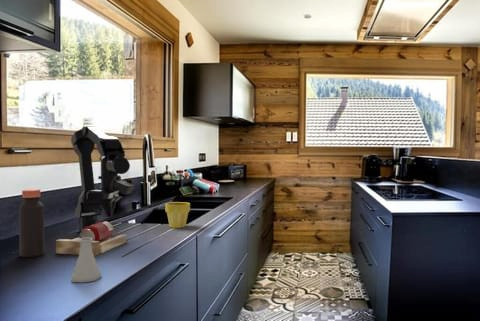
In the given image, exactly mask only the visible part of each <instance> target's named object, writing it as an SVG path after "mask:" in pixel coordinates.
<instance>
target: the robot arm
mask: <svg viewBox="0 0 480 321" xmlns="http://www.w3.org/2000/svg"><path fill="white" fill-rule="evenodd" d="M70 143H71V145H72V150H73V151H74V153H75V154H76V155H77V156H78V162H79V173H80V183H81V194H80V195H79V197H78V203H77V205H76V207H75V210H74V215H75V217H77V218H78V228H79V229H78V230H76V233H79V234H80V233H81V232H82V230H83V229H84V228H86V227H88V226H91V225H94V224H97V223H99V218H98V216H101V215H102V210H104V212H105V214H106V216H107V217H108V218H111V217H113V214H114V209H115V208H116V206H117V202H118V201H119V200H120V199H122V198H123V196H121V195H119V194H123V195H129V194H130V195H131V194H132V192H133V190H134V189H135V188H136V187H135V180H133V179H130V178H129V179H127V180H122V177H121V175H124V174H126V173H127V172H128V171H129V170H130V167H131V164H130V161H129V160H128V159H127V158H126V154H125V153H126V151H125V149H124V147H123V145H122V142H121V141H120V139H119V138H118V137H116V136H110V135H107V134H106V133H104V132H103V131H101V130H100V129H99V127H98V126H96V125H84V126H82V127H81V129H78V130H76V131H74V133H73V134H72V137H71V138H70ZM95 144H96V146H95ZM95 147H96V150H97V152H98V153H99V155H100V157H99V161H100V175H98V176H97V177H98V178H97V179H98V180H100V187H98V189H96V188H95V178H94V171H93V170H94V169H93V168H94V167H93V161H92V159H93V158H92V153H93V151H94V150H95Z"/></svg>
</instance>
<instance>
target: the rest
mask: <svg viewBox="0 0 480 321" xmlns="http://www.w3.org/2000/svg"><path fill="white" fill-rule="evenodd" d="M125 243H127V234H120V235H117V236H114V237H111V238H110V239H108V240H106V241H104V242H101V243H100V241H92V242H91V247H92V252H93V255H94V257H97V256H98V255H100V254H104V253H105V252H108V251H110V250H112V249H114V248H116V247H118V246H120V245H123V244H125ZM80 247H81V243H80V242H79V237H75V238H73V239H67V238H63V239H62V238H59V239H56V240H55V254H61V255H63V254H64V255H78V256H79V253H80Z"/></svg>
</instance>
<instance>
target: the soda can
mask: <svg viewBox="0 0 480 321" xmlns="http://www.w3.org/2000/svg"><path fill="white" fill-rule="evenodd" d="M114 231H115V230H114V226H113V225H112V224H111V222H109V221H106V220H105V221H104V220H103V221H100V222H99V221H98V223H97V224H94V225H91V226H88V227H86V228H84V229H83V230H82V232H81V233H79V239H81V238H87V237H88V238H92V239H93V240H92V241H100V243H101V242H104V241H106V240H109V239H112V238H113V236H114Z"/></svg>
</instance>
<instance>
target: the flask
mask: <svg viewBox="0 0 480 321" xmlns="http://www.w3.org/2000/svg"><path fill="white" fill-rule="evenodd" d="M92 240H93V239H92V238H88V237H87V238H81V239H79V242H80V243H81V247H80V253H79V255H78V258H77V261H76V262H75V263H76V264H75V266H74V269H73V272H72V275H71V278H70V282H71V283H72V282H73V283H88V282H95V281H97V280H99V279H100V278H102V274H101V271H100V269H99V265H98V264H97V260H96V258H95V256H94V255H93V252H92V247H91V242H92Z"/></svg>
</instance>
